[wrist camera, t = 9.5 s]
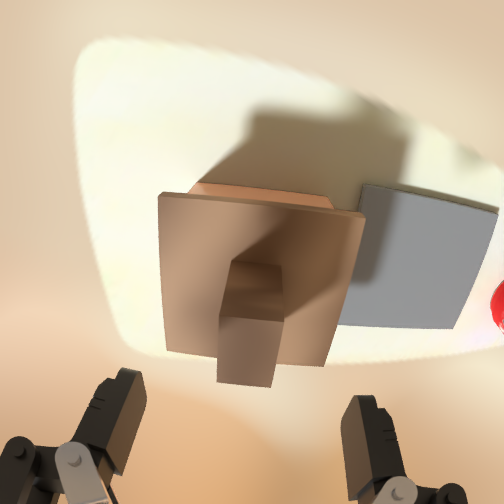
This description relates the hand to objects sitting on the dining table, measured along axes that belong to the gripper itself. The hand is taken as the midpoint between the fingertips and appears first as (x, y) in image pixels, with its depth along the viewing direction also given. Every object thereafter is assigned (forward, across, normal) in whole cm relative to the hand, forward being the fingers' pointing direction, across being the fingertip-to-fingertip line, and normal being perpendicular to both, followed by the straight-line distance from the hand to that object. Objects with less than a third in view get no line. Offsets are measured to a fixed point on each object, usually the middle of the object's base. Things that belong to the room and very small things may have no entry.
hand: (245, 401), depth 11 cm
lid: (+8, 0, 0) cm, 8 cm away
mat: (+13, -12, 0) cm, 18 cm away
